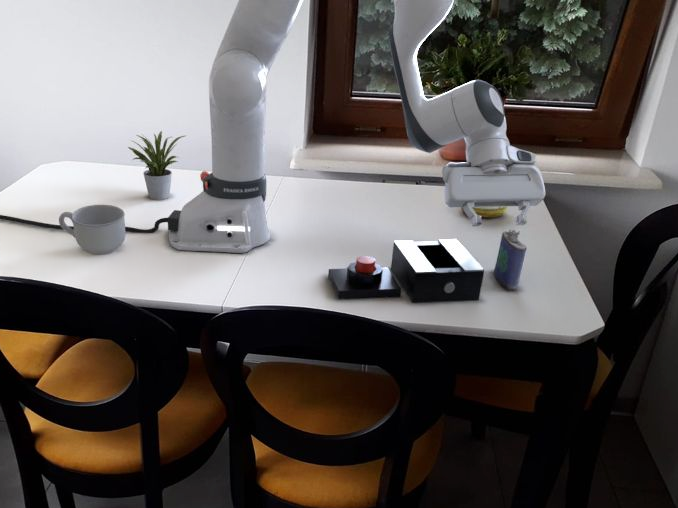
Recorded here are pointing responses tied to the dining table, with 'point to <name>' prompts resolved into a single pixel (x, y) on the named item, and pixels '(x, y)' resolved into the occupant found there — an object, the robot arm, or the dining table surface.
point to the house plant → (157, 167)
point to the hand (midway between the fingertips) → (499, 224)
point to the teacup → (96, 227)
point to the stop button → (365, 264)
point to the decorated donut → (489, 211)
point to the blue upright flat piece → (509, 260)
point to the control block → (364, 283)
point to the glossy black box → (436, 271)
